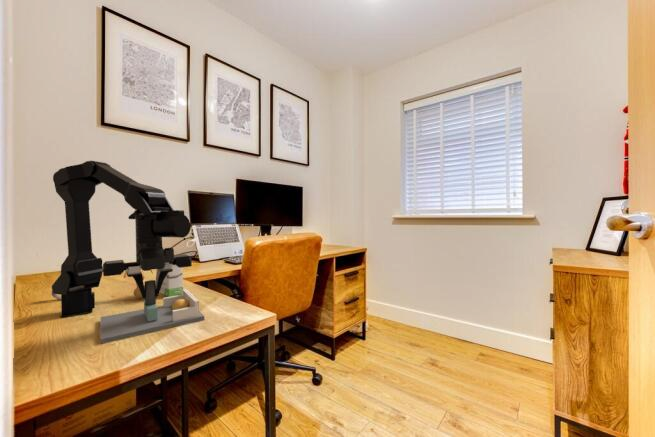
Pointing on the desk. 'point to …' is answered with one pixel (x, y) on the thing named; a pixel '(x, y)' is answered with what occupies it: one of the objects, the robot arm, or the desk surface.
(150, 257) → the robot arm
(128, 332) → the board
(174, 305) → the ball
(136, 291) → the figurine
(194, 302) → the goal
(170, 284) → the ink box
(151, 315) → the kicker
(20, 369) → the desk surface
